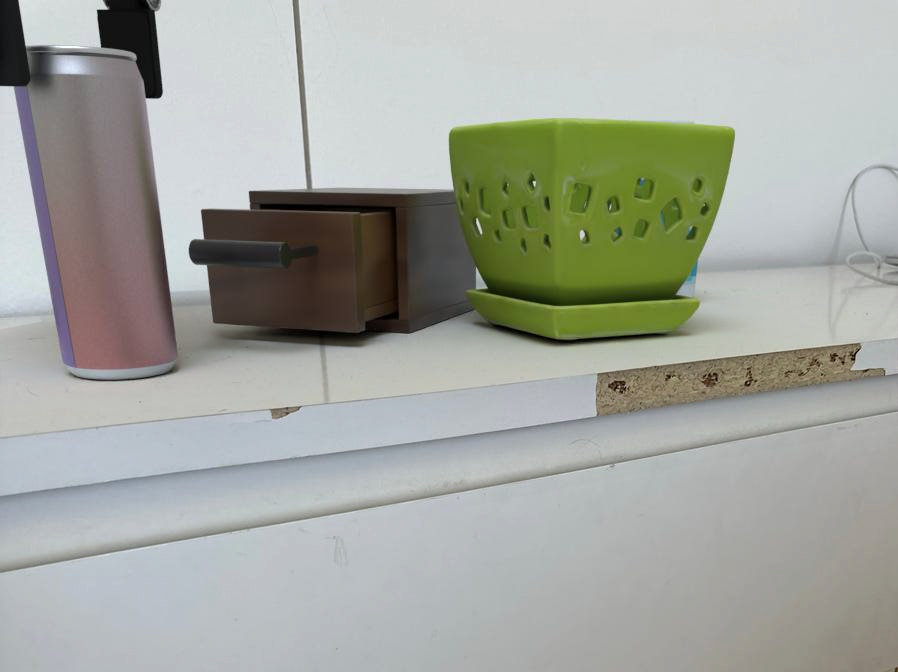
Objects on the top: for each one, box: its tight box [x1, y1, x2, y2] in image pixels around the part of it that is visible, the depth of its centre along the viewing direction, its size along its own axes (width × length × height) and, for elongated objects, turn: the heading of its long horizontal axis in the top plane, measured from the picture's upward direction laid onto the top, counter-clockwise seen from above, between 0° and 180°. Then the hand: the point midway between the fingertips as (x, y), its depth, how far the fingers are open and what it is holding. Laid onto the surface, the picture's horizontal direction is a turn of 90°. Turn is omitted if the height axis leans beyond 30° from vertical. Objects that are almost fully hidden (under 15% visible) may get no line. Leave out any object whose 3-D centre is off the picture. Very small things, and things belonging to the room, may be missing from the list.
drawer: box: [188, 206, 399, 334], centre depth 63 cm, size 17×10×7 cm, turn 161°
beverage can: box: [13, 44, 179, 381], centre depth 50 cm, size 6×6×15 cm
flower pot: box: [448, 117, 736, 341], centre depth 65 cm, size 14×14×13 cm
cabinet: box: [248, 187, 477, 334], centre depth 71 cm, size 14×12×9 cm
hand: (72, 92), depth 48 cm, fingers open, 9 cm apart
